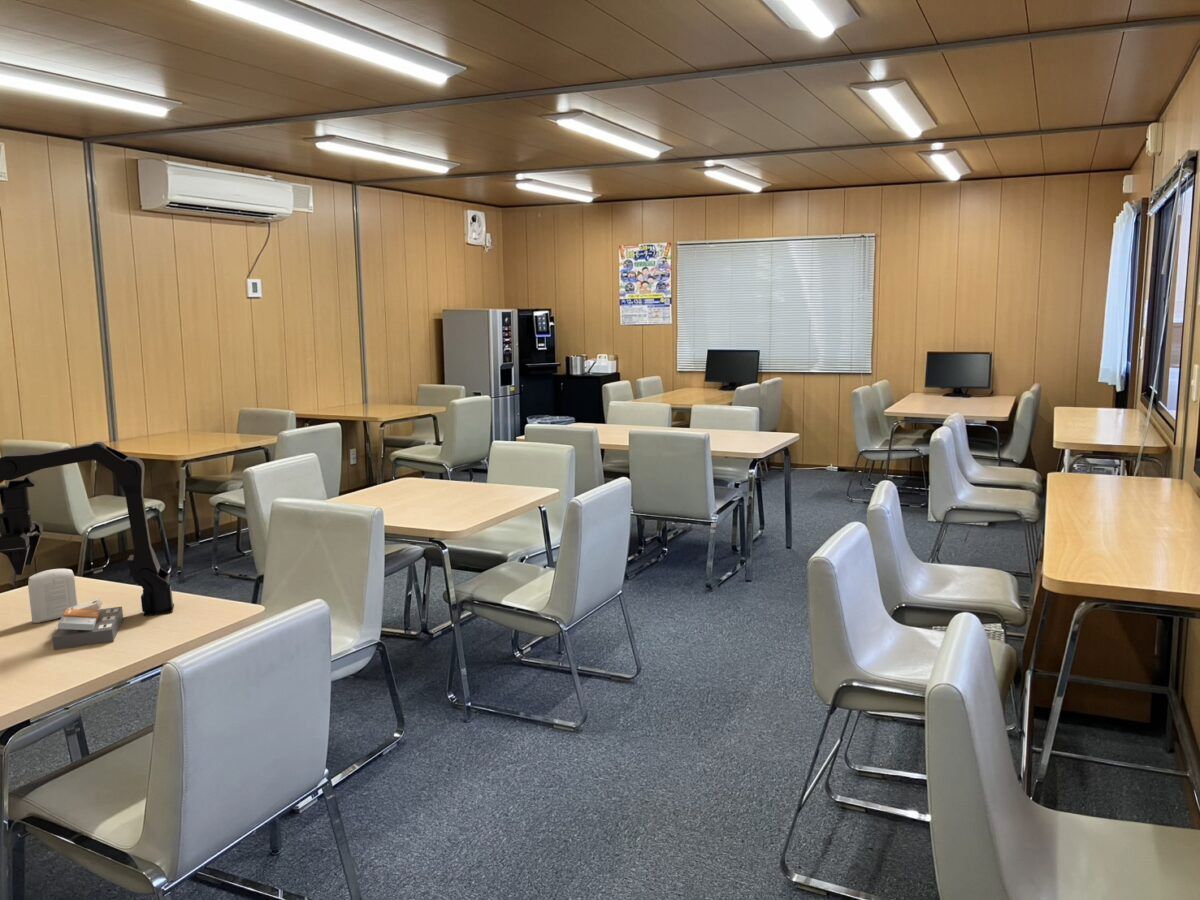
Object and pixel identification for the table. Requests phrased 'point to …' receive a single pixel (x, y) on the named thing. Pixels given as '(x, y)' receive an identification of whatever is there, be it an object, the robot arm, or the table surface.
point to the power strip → (91, 631)
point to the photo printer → (51, 594)
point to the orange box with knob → (82, 613)
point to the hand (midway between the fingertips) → (24, 569)
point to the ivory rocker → (89, 605)
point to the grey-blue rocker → (77, 623)
